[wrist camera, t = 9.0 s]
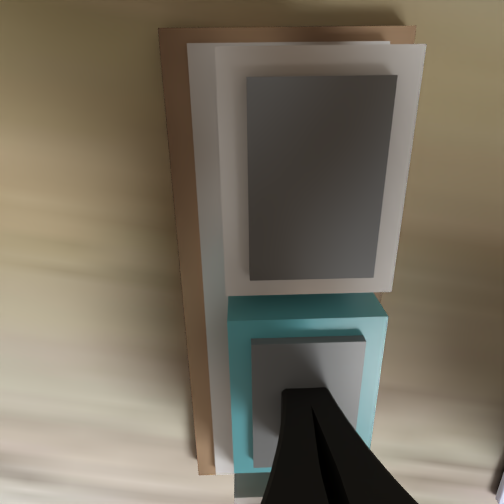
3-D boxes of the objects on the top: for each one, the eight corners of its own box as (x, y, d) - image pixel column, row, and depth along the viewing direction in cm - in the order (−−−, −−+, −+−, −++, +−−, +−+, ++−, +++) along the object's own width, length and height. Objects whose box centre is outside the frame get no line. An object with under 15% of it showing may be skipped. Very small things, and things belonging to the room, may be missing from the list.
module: (339, 238, 17) (392, 322, 11) (330, 356, 19) (370, 476, 13) (230, 241, 17) (226, 327, 11) (235, 359, 19) (233, 481, 13)
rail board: (407, 28, 15) (553, -16, 8) (354, 457, 24) (402, 613, 17) (161, 30, 15) (94, -12, 8) (200, 462, 23) (183, 623, 16)
